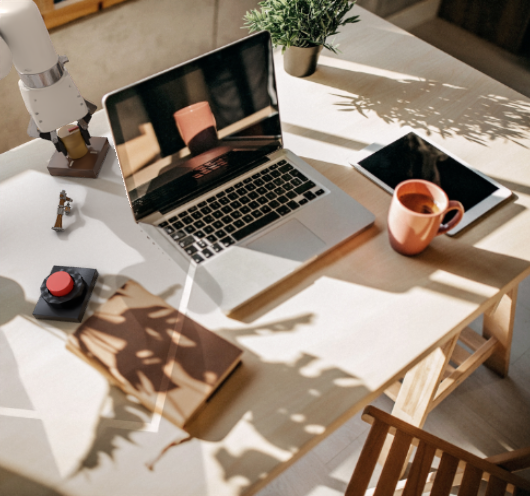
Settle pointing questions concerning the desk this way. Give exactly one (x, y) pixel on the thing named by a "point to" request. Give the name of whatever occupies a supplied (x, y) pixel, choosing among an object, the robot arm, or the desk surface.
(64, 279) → the light button
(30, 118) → the robot arm
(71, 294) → the switch box
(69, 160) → the dimmer console
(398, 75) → the desk surface
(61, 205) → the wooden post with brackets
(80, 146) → the dimmer knob
